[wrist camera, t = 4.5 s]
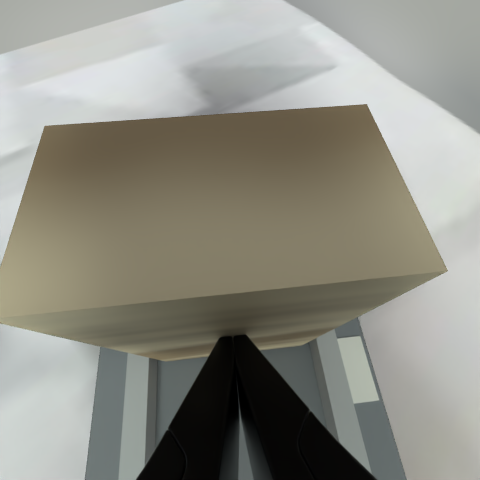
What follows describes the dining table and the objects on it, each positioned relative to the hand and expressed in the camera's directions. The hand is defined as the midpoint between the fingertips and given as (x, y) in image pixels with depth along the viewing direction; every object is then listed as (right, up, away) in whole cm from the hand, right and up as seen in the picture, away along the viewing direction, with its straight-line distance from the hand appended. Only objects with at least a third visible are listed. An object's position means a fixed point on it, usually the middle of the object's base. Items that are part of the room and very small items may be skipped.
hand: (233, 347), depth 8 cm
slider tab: (0, -1, +6) cm, 6 cm away
